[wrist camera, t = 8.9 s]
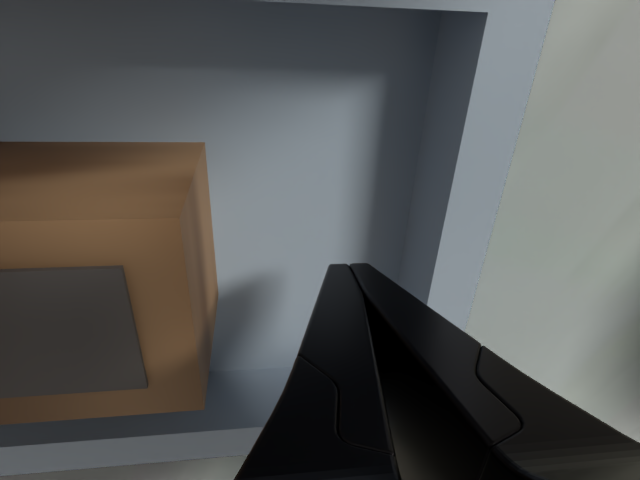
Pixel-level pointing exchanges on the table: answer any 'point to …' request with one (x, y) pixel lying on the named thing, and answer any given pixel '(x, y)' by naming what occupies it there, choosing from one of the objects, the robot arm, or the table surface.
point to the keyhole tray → (280, 166)
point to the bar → (104, 279)
